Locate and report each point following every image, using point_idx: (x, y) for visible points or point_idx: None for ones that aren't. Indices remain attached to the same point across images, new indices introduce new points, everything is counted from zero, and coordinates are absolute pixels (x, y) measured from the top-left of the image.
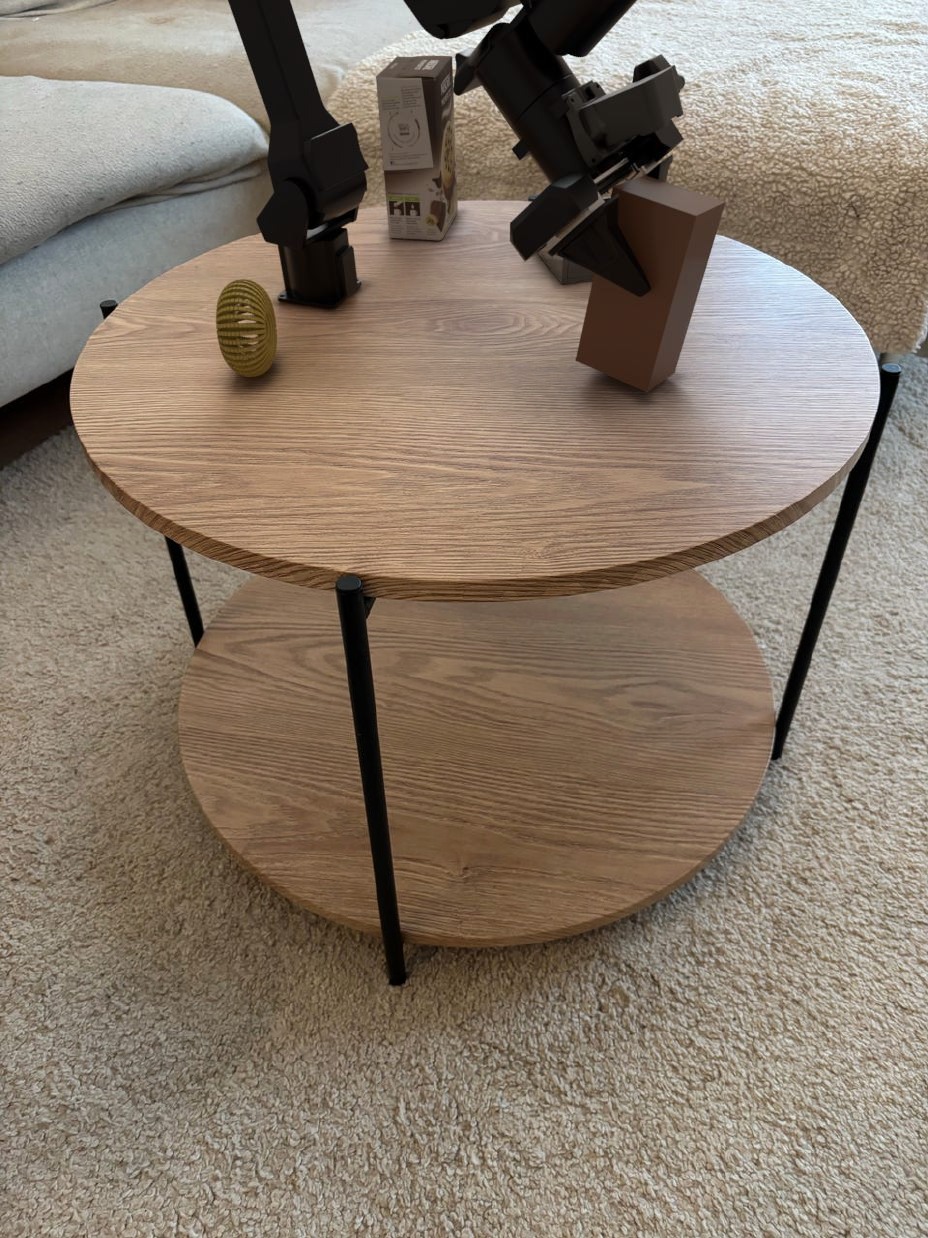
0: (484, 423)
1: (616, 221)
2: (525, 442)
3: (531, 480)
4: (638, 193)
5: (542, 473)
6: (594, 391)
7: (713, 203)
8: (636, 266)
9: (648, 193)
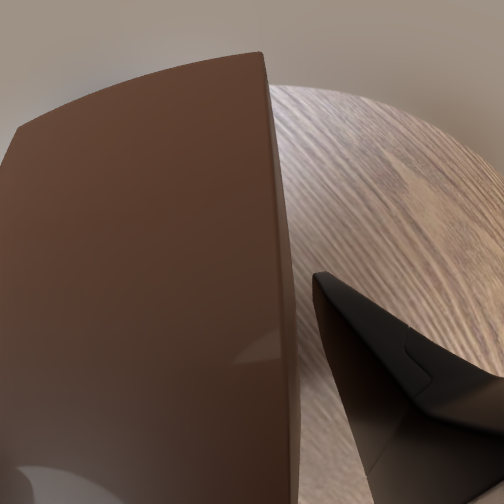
0: None
1: (445, 408)
2: (452, 349)
3: (489, 293)
4: (233, 466)
5: (477, 293)
6: (309, 366)
7: (50, 123)
8: (359, 302)
9: (150, 412)
